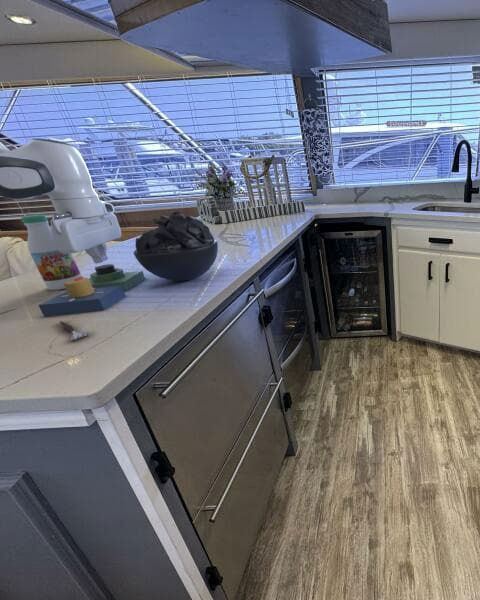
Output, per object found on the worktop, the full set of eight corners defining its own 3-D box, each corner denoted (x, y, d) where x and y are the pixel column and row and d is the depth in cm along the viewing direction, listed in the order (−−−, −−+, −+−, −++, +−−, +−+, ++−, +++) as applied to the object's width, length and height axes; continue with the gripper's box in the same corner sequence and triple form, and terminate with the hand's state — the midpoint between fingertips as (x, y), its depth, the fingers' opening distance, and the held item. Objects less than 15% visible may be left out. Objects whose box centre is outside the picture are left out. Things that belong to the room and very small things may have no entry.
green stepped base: (75, 296, 85) (68, 280, 83) (100, 283, 94) (93, 269, 92) (127, 291, 87) (120, 275, 85) (145, 279, 96) (140, 264, 94)
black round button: (94, 276, 87) (91, 269, 86) (103, 272, 90) (100, 265, 89) (110, 274, 87) (107, 267, 86) (119, 270, 91) (116, 263, 90)
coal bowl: (192, 292, 84) (169, 219, 77) (127, 290, 87) (99, 220, 80) (239, 268, 102) (224, 208, 95) (183, 268, 105) (165, 209, 98)
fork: (69, 321, 70) (65, 313, 70) (93, 339, 62) (89, 330, 61) (53, 326, 68) (48, 317, 68) (76, 345, 60) (71, 336, 59)
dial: (86, 296, 75) (79, 281, 74) (65, 298, 75) (57, 283, 73) (98, 290, 79) (92, 275, 78) (78, 292, 79) (71, 277, 77)
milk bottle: (41, 289, 91) (4, 218, 83) (73, 280, 98) (42, 213, 90) (59, 291, 89) (22, 218, 81) (91, 282, 95) (60, 213, 88)
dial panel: (44, 316, 73) (37, 304, 72) (72, 301, 81) (66, 290, 80) (104, 310, 75) (98, 298, 74) (125, 296, 83) (121, 284, 82)
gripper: (65, 214, 73) (89, 271, 79) (116, 204, 92) (134, 251, 97) (32, 216, 72) (59, 274, 78) (91, 205, 91) (110, 253, 96)
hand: (101, 261), depth 88 cm, fingers closed
